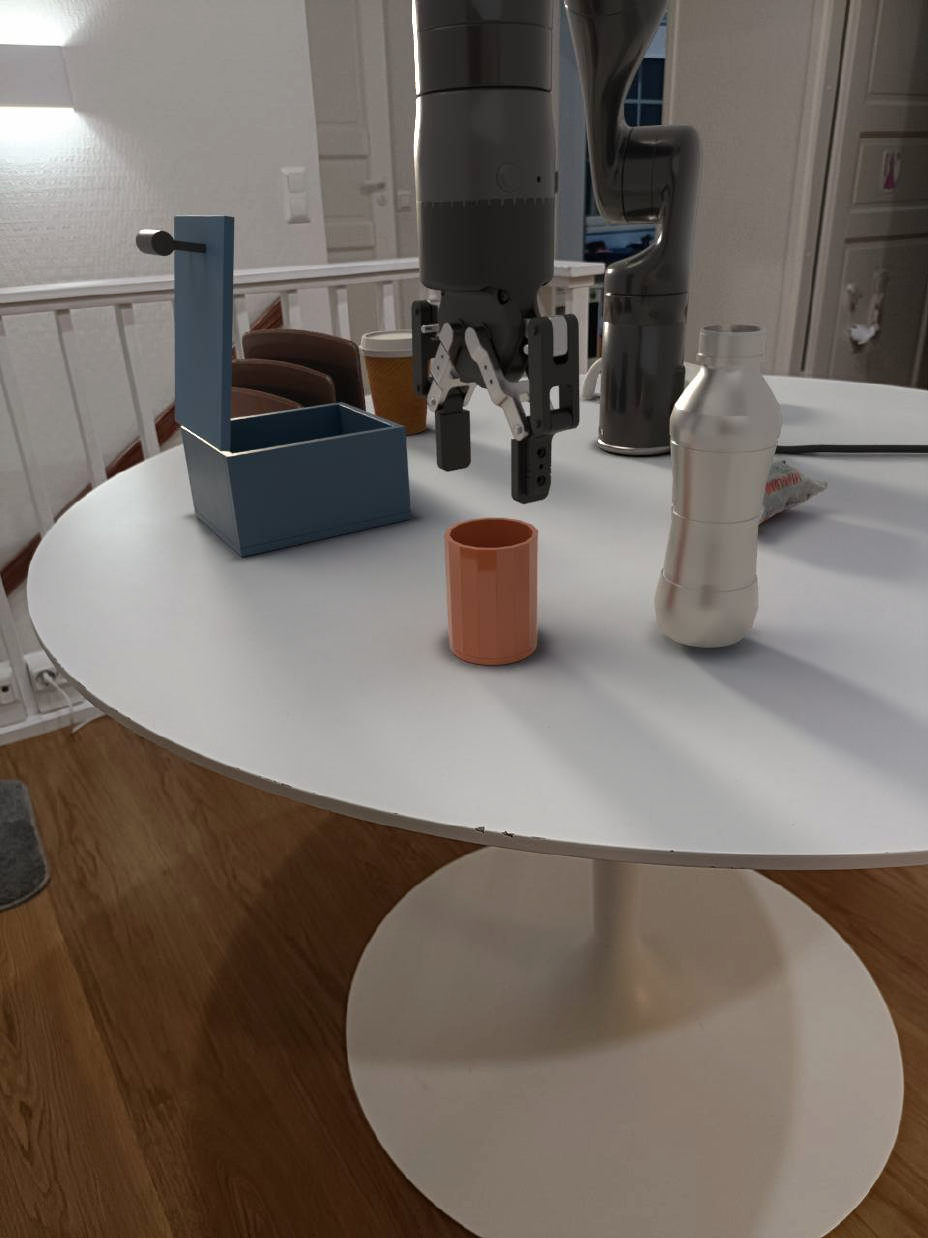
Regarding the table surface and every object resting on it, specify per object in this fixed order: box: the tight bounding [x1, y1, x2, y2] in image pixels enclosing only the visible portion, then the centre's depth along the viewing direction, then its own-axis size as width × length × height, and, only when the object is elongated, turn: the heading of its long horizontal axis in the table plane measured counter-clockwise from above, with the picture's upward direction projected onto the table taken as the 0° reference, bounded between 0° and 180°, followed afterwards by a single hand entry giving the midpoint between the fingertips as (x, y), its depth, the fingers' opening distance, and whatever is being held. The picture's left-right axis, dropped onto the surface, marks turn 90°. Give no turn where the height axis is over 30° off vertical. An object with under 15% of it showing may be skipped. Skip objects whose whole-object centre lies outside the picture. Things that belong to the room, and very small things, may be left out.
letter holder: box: [231, 328, 367, 419], centre depth 101 cm, size 10×20×14 cm, turn 53°
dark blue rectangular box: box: [179, 402, 412, 558], centre depth 82 cm, size 17×14×9 cm
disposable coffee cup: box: [358, 329, 432, 436], centre depth 113 cm, size 10×10×12 cm
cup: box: [443, 517, 539, 666], centre depth 58 cm, size 6×6×8 cm
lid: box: [135, 215, 235, 451], centre depth 72 cm, size 18×14×5 cm
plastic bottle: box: [653, 323, 784, 649], centre depth 55 cm, size 6×7×20 cm
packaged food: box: [759, 458, 829, 525], centre depth 80 cm, size 9×12×5 cm
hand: (489, 483), depth 54 cm, fingers open, 8 cm apart
